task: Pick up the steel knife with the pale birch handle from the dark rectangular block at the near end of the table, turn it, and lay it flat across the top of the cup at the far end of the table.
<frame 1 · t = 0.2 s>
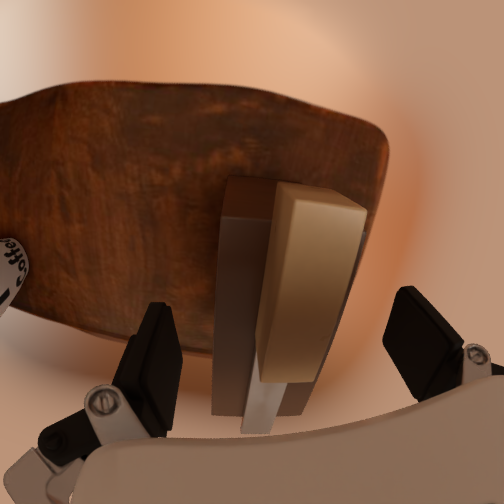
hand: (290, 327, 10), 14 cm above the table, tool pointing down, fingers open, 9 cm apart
knife: (274, 350, 13), point 12 cm above the table, touching dark rectangular block
dark rectangular block: (256, 252, 24), on the table
cup: (15, 257, 22), on the table
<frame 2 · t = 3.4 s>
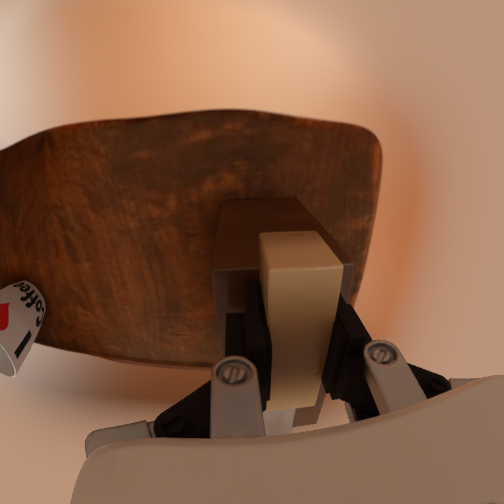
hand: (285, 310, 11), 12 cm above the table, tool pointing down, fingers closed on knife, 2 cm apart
knife: (280, 374, 13), point 12 cm above the table, touching gripper, dark rectangular block
dark rectangular block: (260, 270, 24), on the table
cup: (31, 297, 24), on the table
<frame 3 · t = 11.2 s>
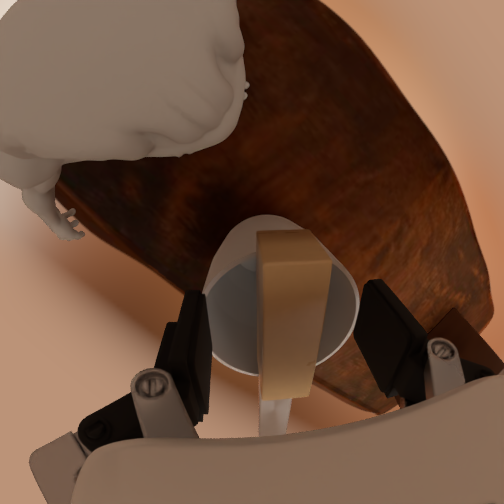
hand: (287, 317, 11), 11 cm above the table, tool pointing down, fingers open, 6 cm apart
knife: (276, 367, 14), point 10 cm above the table, touching cup
dark rectangular block: (426, 349, 30), on the table
cup: (261, 244, 22), on the table, touching knife
figurine: (201, 109, 17), on the table
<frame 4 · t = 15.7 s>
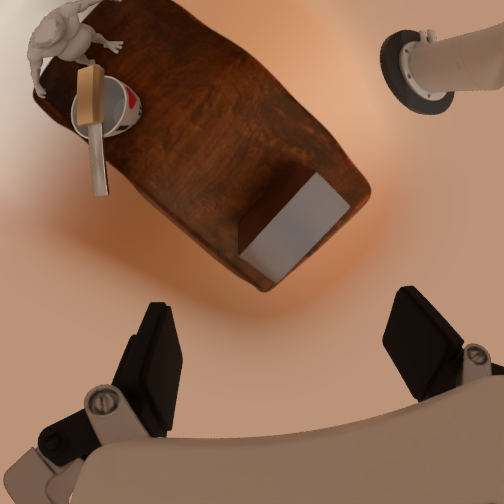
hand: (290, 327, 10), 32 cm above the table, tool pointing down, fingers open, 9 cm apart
knife: (97, 131, 26), point 10 cm above the table, touching cup
dark rectangular block: (279, 205, 41), on the table
cup: (127, 111, 34), on the table, touching knife
figurine: (104, 57, 29), on the table
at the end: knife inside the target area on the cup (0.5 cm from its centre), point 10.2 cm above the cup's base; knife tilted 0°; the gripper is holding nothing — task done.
